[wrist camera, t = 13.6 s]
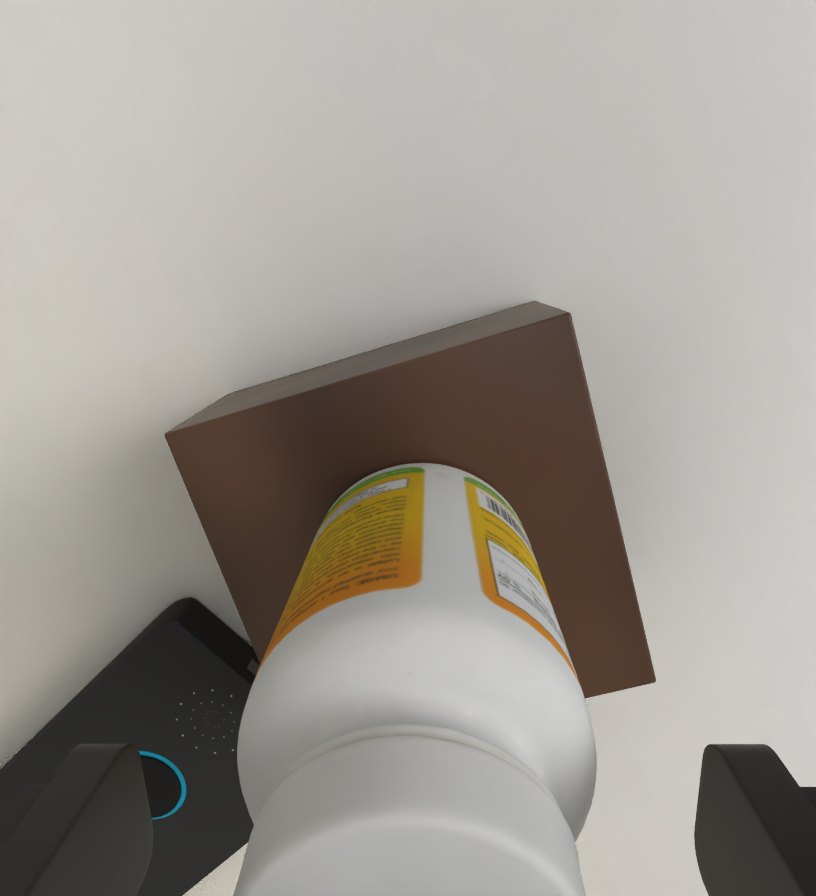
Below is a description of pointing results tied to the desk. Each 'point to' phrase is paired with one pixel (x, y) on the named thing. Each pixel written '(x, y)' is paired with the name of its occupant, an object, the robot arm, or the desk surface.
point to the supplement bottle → (416, 707)
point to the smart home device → (165, 739)
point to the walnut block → (426, 441)
